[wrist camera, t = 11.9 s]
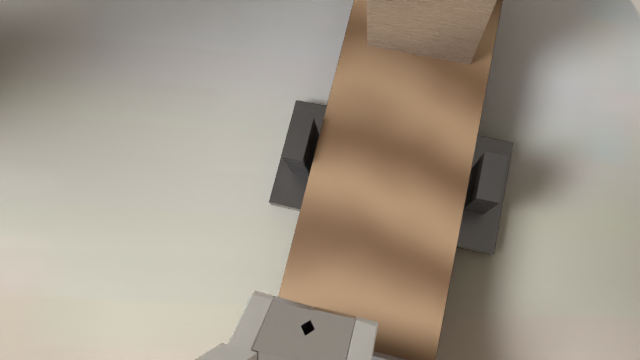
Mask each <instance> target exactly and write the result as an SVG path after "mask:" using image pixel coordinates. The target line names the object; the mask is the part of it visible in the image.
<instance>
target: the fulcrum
mask: <svg viewBox="0 0 640 360" xmlns="http://www.w3.org/2000/svg"><path fill="white" fill-rule="evenodd" d="M326 108H327V106H323V105H318V104H313V103H308V102H303V101H297V100H296V103H295V106H294V110H293V114H292V118H291V122H290V125H289V129H288V133H287V137H286V140H285V144H284V148H283V152H282V155H281V159H280V163H279V167H278V171H277V174H276V178H275V182H274V186H273V189H272V193H271V197H270V201H269V203H270V204H271V205H275V206H279V207H284V208H288V209H293V210H297V211H300V210H301V206H302V202H303V198H304V194H305V190H306V186H307V182H308V178H309V174H310V170H311V166H312V163H313V159H314V155H315V151H316V147H317V143H318V139H319V135H320V131H321V127H322V123H323V119H324V116H325V112H326ZM512 147H513V143H512V142H507V141H501V140H496V139H491V138H486V137H481V136H477V140H476V145H475V150H474V156H473V161H472V166H471V172H470V177H469V182H468V188H467V193H466V198H465V204H464V209H463V214H462V220H461V225H460V230H459V236H458V241H457V246H456V247H459V248H463V249H468V250H472V251H476V252H481V253H485V254H490V255H491V254H494V249H495V244H496V238H497V232H498V227H499V221H500V215H501V209H502V204H503V198H504V192H505V187H506V181H507V175H508V170H509V164H510V158H511V152H512Z"/></svg>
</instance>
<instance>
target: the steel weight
mask: <svg viewBox="0 0 640 360" xmlns="http://www.w3.org/2000/svg"><path fill="white" fill-rule="evenodd" d="M496 1H497V0H367V46H371V47H376V48H382V49H387V50H393V51H399V52H404V53H410V54H415V55H421V56H427V57H432V58H438V59H443V60H449V61H454V62H460V63H466V64H470V63H471V61H472V58H473V56H474V54H475V51H476V49H477V46H478V44H479V42H480V39H481V37H482V35H483V32H484V30H485V27H486V25H487V23H488V20H489V18H490V16H491V13H492V11H493V8H494V6H495V4H496Z"/></svg>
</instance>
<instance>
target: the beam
mask: <svg viewBox="0 0 640 360" xmlns="http://www.w3.org/2000/svg"><path fill="white" fill-rule="evenodd" d="M502 1H503V0H497V1H496V4H495V6H494V8H493V11H492V13H491V16H490V18H489V20H488V23H487V25H486V27H485V30H484V32H483V35H482V37H481V39H480V42H479V44H478V46H477V49H476V51H475V54H474V56H473V58H472V61H471V63H470V64H466V63H460V62H454V61H449V60H443V59H438V58H432V57H427V56H421V55H415V54H410V53H404V52H399V51H393V50H387V49H382V48H376V47H371V46H367V0H354V2H353V6H352V10H351V14H350V18H349V21H348V25H347V29H346V33H345V37H344V41H343V45H342V49H341V53H340V57H339V61H338V65H337V68H336V72H335V76H334V80H333V84H332V88H331V92H330V96H329V100H328V104H327V108H326V112H325V116H324V119H323V123H322V127H321V131H320V135H319V139H318V143H317V147H316V151H315V155H314V159H313V163H312V166H311V170H310V174H309V178H308V182H307V186H306V190H305V194H304V198H303V202H302V206H301V210H300V213H299V217H298V221H297V225H296V229H295V233H294V237H293V241H292V245H291V249H290V253H289V257H288V260H287V264H286V268H285V272H284V276H283V280H282V284H281V288H280V292H279V296H278V297H281V298H284V299H288V300H292V301H295V302H299V303H302V304H306V305H310V306H313V307H320V308H324V309H328V310H332V311H337V312H341V313H345V314H349V315H354V316H356V317H361V318H365V319H369V320H373V321H377V322H378V328H377V334H376V339H375V345H374V351H373V356H372V360H435V358H436V353H437V348H438V342H439V337H440V332H441V326H442V321H443V316H444V310H445V305H446V300H447V294H448V289H449V284H450V278H451V273H452V268H453V262H454V257H455V252H456V246H457V241H458V236H459V230H460V225H461V220H462V214H463V209H464V204H465V198H466V193H467V188H468V182H469V177H470V172H471V166H472V161H473V156H474V150H475V145H476V140H477V134H478V129H479V124H480V118H481V113H482V108H483V102H484V97H485V92H486V86H487V81H488V76H489V70H490V65H491V60H492V55H493V49H494V44H495V39H496V33H497V28H498V23H499V17H500V12H501V7H502ZM355 321H356V320H355Z"/></svg>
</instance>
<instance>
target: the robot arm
mask: <svg viewBox="0 0 640 360" xmlns="http://www.w3.org/2000/svg"><path fill="white" fill-rule="evenodd" d="M355 320H356V321H355ZM377 328H378V322H377V321H373V320H369V319H365V318H361V317H356V316H354V315H349V314H345V313H341V312H337V311H332V310H328V309H324V308H320V307H313V306H310V305H306V304H302V303H299V302H295V301H292V300H288V299H284V298H281V297H277V296H272V295H269V294H265V293H261V292H258V291H255V292H254V293H253V294H252V295H251V297H250V299H249V301H248V303H247V305H246V307H245V309H244V311H243V313H242V315H241V318H240V320H239V322H238V324H237V326H236V328H235V330H234V332H233V334H232V336H231V338H230V341H229V343H228V344H225V343H221V344H219V345H218V346H216V347H214V348H213V349H211V350H210V351H208V352H206V353H205V354H203V355H202V356H200V357H198V358H197V359H195V360H372V356H373V351H374V345H375V339H376V334H377Z"/></svg>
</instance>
